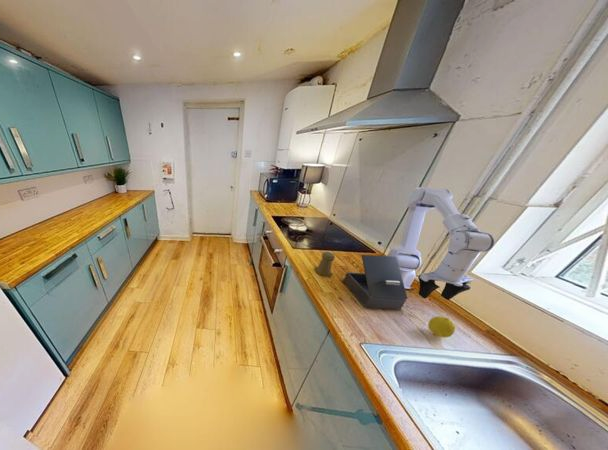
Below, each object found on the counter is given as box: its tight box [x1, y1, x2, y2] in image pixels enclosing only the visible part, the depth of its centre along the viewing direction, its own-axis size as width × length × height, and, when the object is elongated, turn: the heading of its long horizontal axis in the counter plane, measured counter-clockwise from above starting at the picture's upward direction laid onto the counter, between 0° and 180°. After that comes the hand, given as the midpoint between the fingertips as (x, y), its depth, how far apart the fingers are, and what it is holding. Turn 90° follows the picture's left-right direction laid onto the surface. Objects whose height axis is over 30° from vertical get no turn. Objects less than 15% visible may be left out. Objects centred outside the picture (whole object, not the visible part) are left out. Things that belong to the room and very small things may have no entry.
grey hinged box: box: [342, 272, 407, 311], centre depth 83 cm, size 15×13×5 cm
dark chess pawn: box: [315, 251, 336, 277], centre depth 95 cm, size 6×6×11 cm
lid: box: [361, 254, 408, 300], centre depth 76 cm, size 16×13×4 cm
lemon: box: [427, 315, 456, 338], centre depth 66 cm, size 6×6×8 cm
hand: (433, 297), depth 70 cm, fingers open, 7 cm apart
